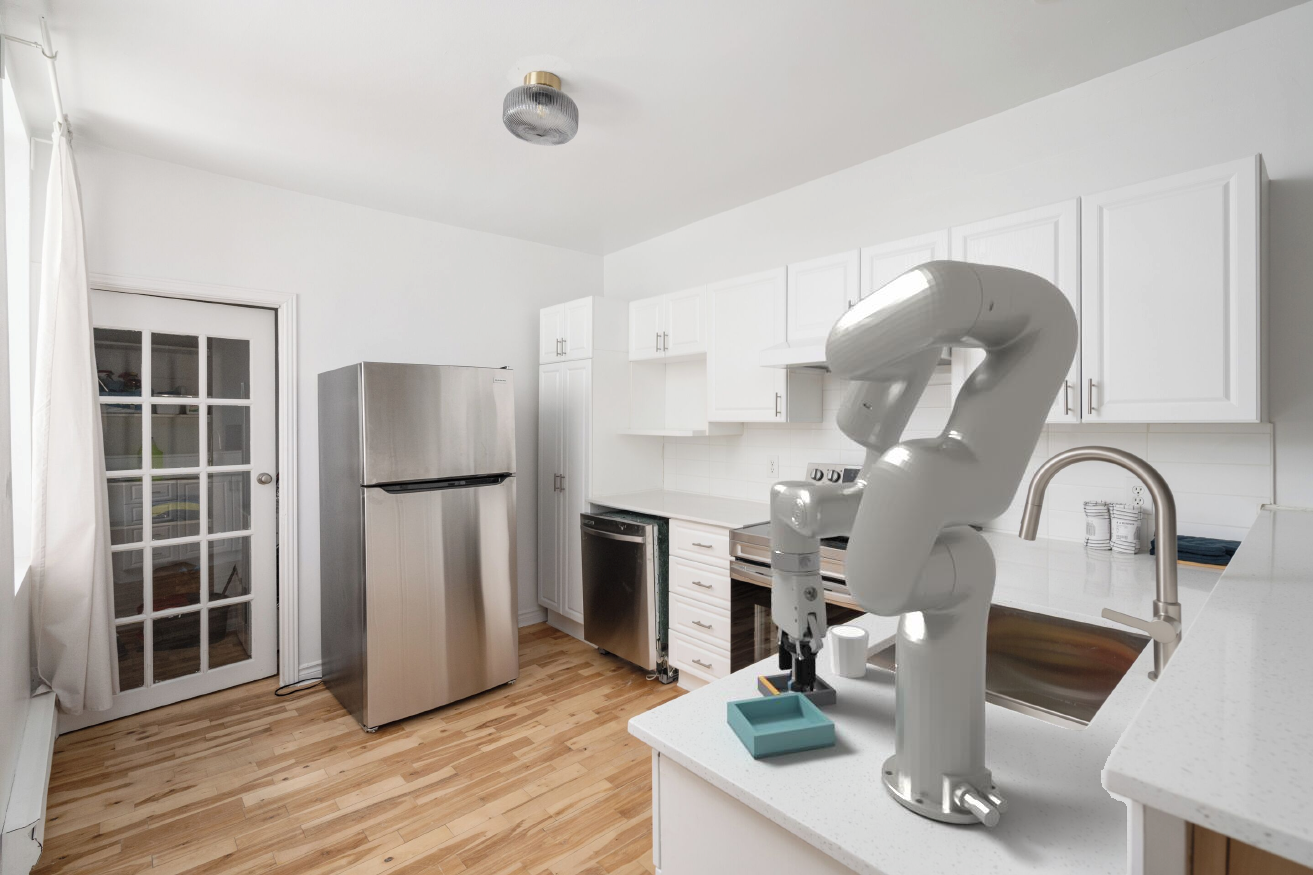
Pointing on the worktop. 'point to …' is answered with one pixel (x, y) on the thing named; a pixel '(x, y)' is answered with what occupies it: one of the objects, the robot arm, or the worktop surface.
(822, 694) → the box
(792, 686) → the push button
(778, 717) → the tray
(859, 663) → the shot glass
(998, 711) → the worktop surface
